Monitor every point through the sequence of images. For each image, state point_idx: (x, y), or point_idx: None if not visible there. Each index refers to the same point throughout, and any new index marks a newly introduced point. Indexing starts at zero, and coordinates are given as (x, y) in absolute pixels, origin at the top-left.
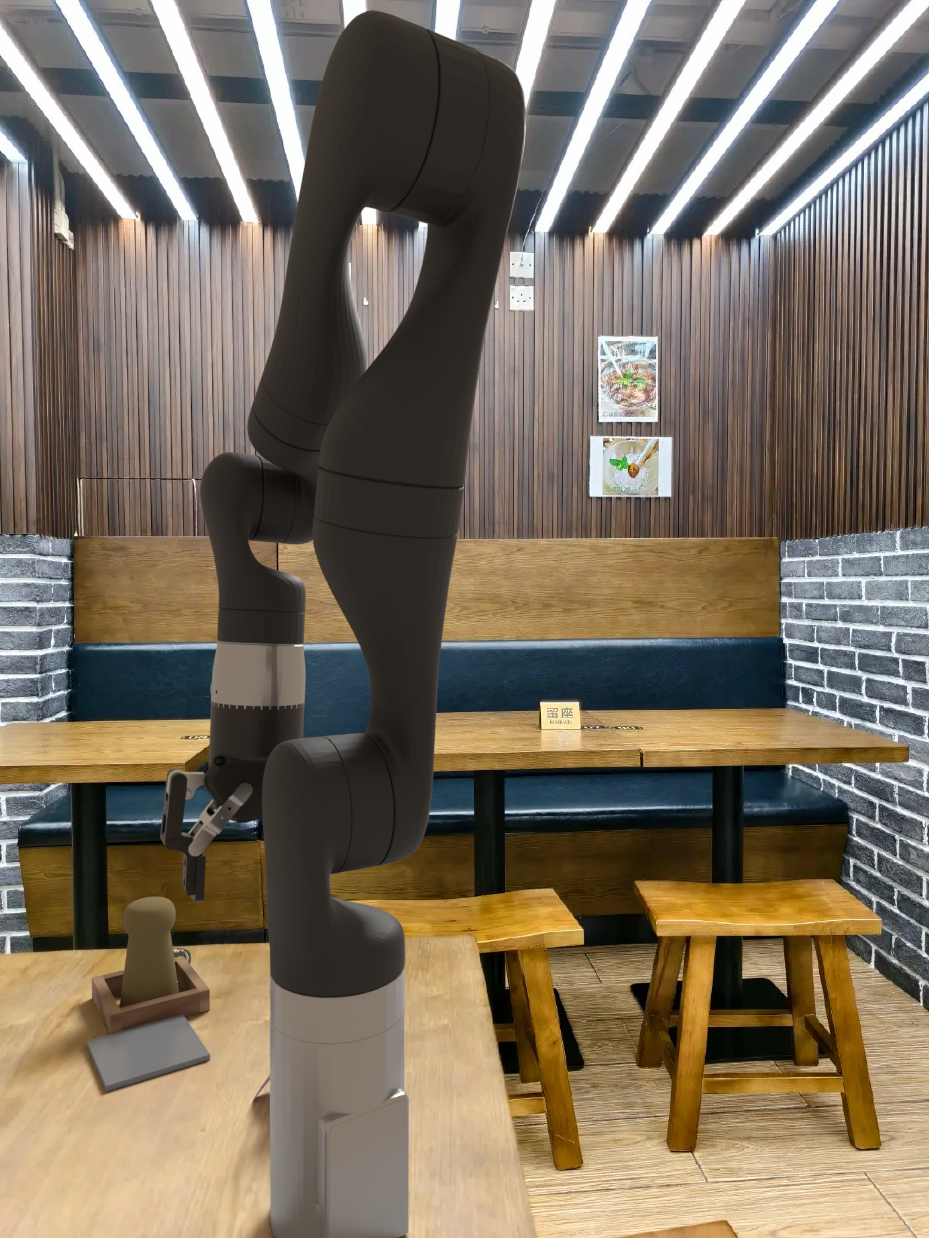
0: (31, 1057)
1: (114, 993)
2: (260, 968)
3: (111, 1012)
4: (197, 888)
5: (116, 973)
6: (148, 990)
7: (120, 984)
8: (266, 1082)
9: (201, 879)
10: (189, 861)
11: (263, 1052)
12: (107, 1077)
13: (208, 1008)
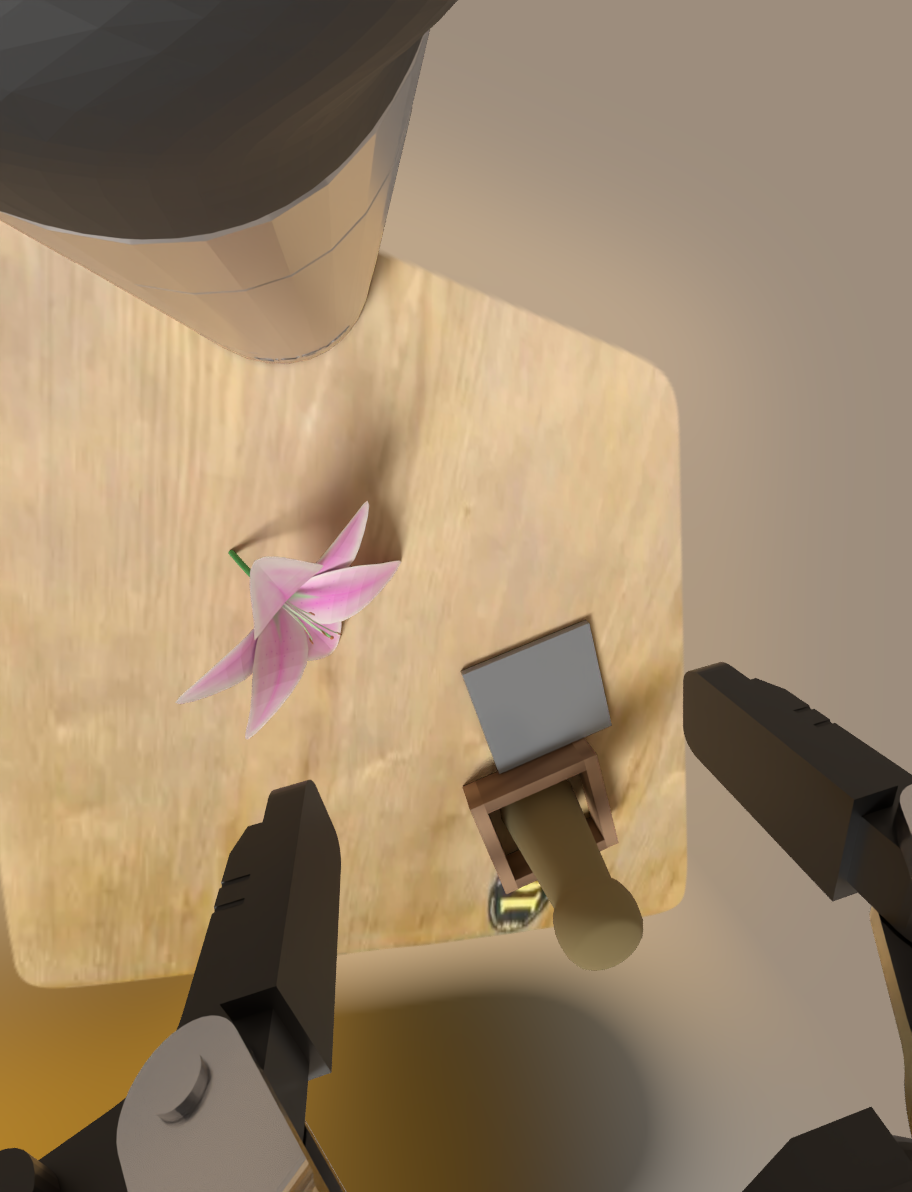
0: (663, 703)
1: None
2: (392, 886)
3: (595, 760)
4: (750, 687)
5: None
6: (553, 804)
7: None
8: (382, 570)
9: (766, 712)
10: (890, 776)
11: (386, 679)
12: (587, 641)
13: (464, 788)
